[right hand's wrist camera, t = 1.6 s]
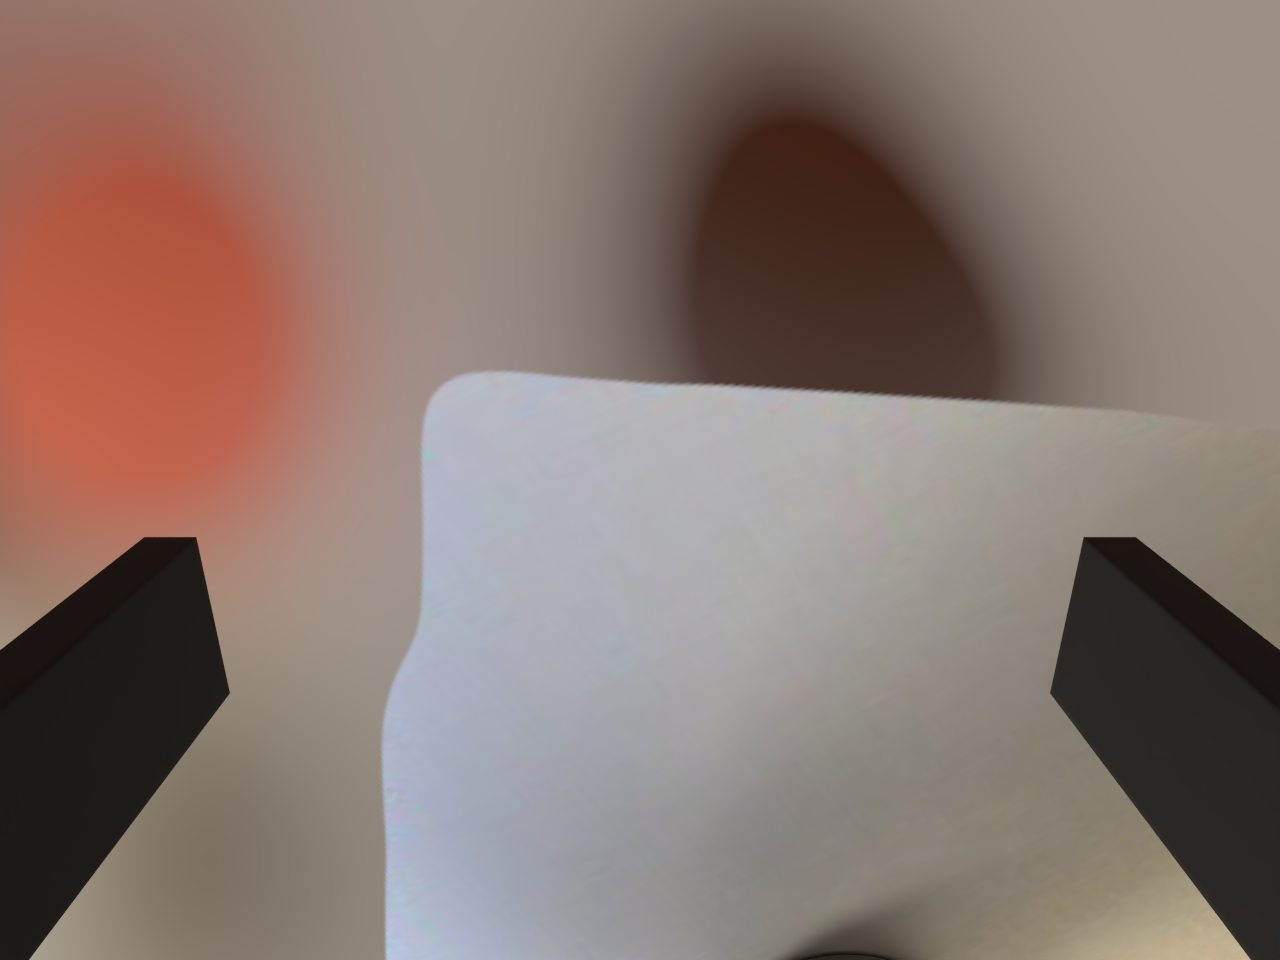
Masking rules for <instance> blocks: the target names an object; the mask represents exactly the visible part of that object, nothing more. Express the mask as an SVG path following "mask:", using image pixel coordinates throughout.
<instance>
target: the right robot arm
mask: <svg viewBox="0 0 1280 960" xmlns="http://www.w3.org/2000/svg"><path fill="white" fill-rule="evenodd" d="M229 694H230V692H229V687H228V683H227V678H226V673H225V669H224V664H223V659H222V655H221V650H220V645H219V641H218V636H217V631H216V627H215V622H214V618H213V613H212V608H211V604H210V599H209V595H208V590H207V585H206V581H205V576H204V571H203V567H202V562H201V557H200V553H199V548H198V543H197V539H196V537H144V538H143V539H142V540H140V541H139V542H138V543H136V544H135V545H134V546H133V547H131V548H130V549H129V550H128V551H126V552H125V553H124V554H122V555H121V556H120V557H119V558H117V559H116V560H115V561H114V562H112V563H111V564H110V565H108V566H107V567H106V568H105V569H103V570H102V571H101V572H99V573H98V574H97V575H96V576H94V577H93V578H92V579H91V580H89V581H88V582H87V583H85V584H84V585H83V586H82V587H80V588H79V589H78V590H77V591H75V592H74V593H73V594H71V595H70V596H69V597H68V598H66V599H65V600H64V601H63V602H61V603H60V604H59V605H57V606H56V607H55V608H54V609H52V610H51V611H50V612H48V613H47V614H46V615H45V616H43V617H42V618H41V619H40V620H38V621H37V622H36V623H34V624H33V625H32V626H31V627H29V628H28V629H27V630H25V631H24V632H23V633H22V634H20V635H19V636H18V637H17V638H15V639H14V640H13V641H11V642H10V643H9V644H8V645H6V646H5V647H4V648H2V649H1V650H0V960H29V959H30V958H31V956H32V955H33V954H34V952H35V951H36V950H37V948H38V947H39V946H40V944H41V943H42V942H43V940H44V939H45V938H46V936H47V935H48V934H49V932H50V931H51V930H52V928H53V927H54V926H55V924H56V923H57V922H58V920H59V919H60V918H61V916H62V915H63V914H64V913H65V911H66V910H67V909H68V907H69V906H70V905H71V903H72V902H73V901H74V899H75V898H76V897H77V895H78V894H79V893H80V891H81V890H82V889H83V887H84V886H85V885H86V883H87V882H88V881H89V879H90V878H91V877H92V875H93V874H94V873H95V871H96V870H97V869H98V867H99V866H100V865H101V863H102V862H103V861H104V859H105V858H106V857H107V856H108V854H109V853H110V852H111V850H112V849H113V848H114V846H115V845H116V844H117V842H118V841H119V840H120V838H121V837H122V836H123V834H124V833H125V832H126V830H127V829H128V828H129V826H130V825H131V824H132V822H133V821H134V820H135V818H136V817H137V816H138V814H139V813H140V812H141V810H142V809H143V808H144V806H145V805H146V804H147V802H148V801H149V800H150V798H151V797H152V796H153V794H154V793H155V792H156V790H157V789H158V788H159V786H160V785H161V784H162V783H163V781H164V780H165V779H166V777H167V776H168V774H169V773H170V772H171V771H172V769H173V768H174V767H175V765H176V764H177V763H178V761H179V760H180V759H181V757H182V756H183V755H184V753H185V752H186V751H187V749H188V748H189V747H190V745H191V744H192V743H193V741H194V740H195V739H196V737H197V736H198V735H199V733H200V732H201V731H202V729H203V728H204V727H205V725H206V724H207V723H208V721H209V720H210V719H211V717H212V716H213V715H214V714H215V712H216V711H217V710H218V708H219V707H220V706H221V704H222V703H223V701H224V700H225V699H226V698H227V696H228V695H229ZM1050 694H1051V695H1052V696H1053V698H1054V699H1055V700H1056V702H1057V703H1058V704H1059V706H1060V707H1061V708H1062V710H1063V711H1064V712H1065V714H1066V715H1067V716H1068V717H1069V719H1070V720H1071V721H1072V723H1073V724H1074V725H1075V727H1076V728H1077V729H1078V731H1079V732H1080V733H1081V735H1082V736H1083V737H1084V739H1085V740H1086V741H1087V743H1088V744H1089V745H1090V747H1091V748H1092V749H1093V751H1094V752H1095V753H1096V755H1097V756H1098V757H1099V759H1100V760H1101V761H1102V763H1103V764H1104V765H1105V767H1106V768H1107V769H1108V771H1109V772H1110V773H1111V775H1112V776H1113V777H1114V779H1115V780H1116V781H1117V783H1118V784H1119V785H1120V787H1121V788H1122V789H1123V790H1124V792H1125V793H1126V794H1127V796H1128V797H1129V798H1130V800H1131V801H1132V802H1133V804H1134V805H1135V806H1136V808H1137V809H1138V810H1139V812H1140V813H1141V814H1142V816H1143V817H1144V818H1145V820H1146V821H1147V822H1148V824H1149V825H1150V826H1151V828H1152V829H1153V830H1154V832H1155V833H1156V834H1157V836H1158V837H1159V838H1160V840H1161V841H1162V842H1163V844H1164V845H1165V846H1166V848H1167V849H1168V850H1169V852H1170V853H1171V854H1172V856H1173V857H1174V858H1175V859H1176V861H1177V862H1178V863H1179V865H1180V866H1181V867H1182V869H1183V870H1184V871H1185V873H1186V874H1187V875H1188V877H1189V878H1190V879H1191V881H1192V882H1193V883H1194V885H1195V886H1196V887H1197V889H1198V890H1199V891H1200V893H1201V894H1202V895H1203V897H1204V898H1205V899H1206V901H1207V902H1208V903H1209V905H1210V906H1211V907H1212V909H1213V910H1214V911H1215V913H1216V914H1217V915H1218V917H1219V918H1220V919H1221V921H1222V922H1223V923H1224V925H1225V926H1226V927H1227V928H1228V930H1229V931H1230V932H1231V934H1232V935H1233V936H1234V938H1235V939H1236V940H1237V942H1238V943H1239V944H1240V946H1241V947H1242V948H1243V950H1244V951H1245V952H1246V954H1247V955H1248V956H1249V958H1250V959H1251V960H1280V650H1279V649H1278V648H1276V647H1275V646H1274V645H1272V644H1271V643H1270V642H1269V641H1267V640H1266V639H1265V638H1263V637H1262V636H1261V635H1260V634H1258V633H1257V632H1256V631H1255V630H1253V629H1252V628H1251V627H1249V626H1248V625H1247V624H1246V623H1244V622H1243V621H1242V620H1241V619H1239V618H1238V617H1237V616H1235V615H1234V614H1233V613H1232V612H1230V611H1229V610H1228V609H1226V608H1225V607H1224V606H1223V605H1221V604H1220V603H1219V602H1218V601H1216V600H1215V599H1214V598H1212V597H1211V596H1210V595H1209V594H1207V593H1206V592H1205V591H1204V590H1202V589H1201V588H1200V587H1198V586H1197V585H1196V584H1195V583H1193V582H1192V581H1191V580H1189V579H1188V578H1187V577H1186V576H1184V575H1183V574H1182V573H1181V572H1179V571H1178V570H1177V569H1175V568H1174V567H1173V566H1172V565H1170V564H1169V563H1168V562H1167V561H1165V560H1164V559H1163V558H1161V557H1160V556H1159V555H1158V554H1156V553H1155V552H1154V551H1152V550H1151V549H1150V548H1149V547H1147V546H1146V545H1145V544H1144V543H1142V542H1141V541H1140V540H1138V539H1137V538H1136V537H1084V539H1083V543H1082V548H1081V553H1080V557H1079V562H1078V567H1077V571H1076V576H1075V581H1074V585H1073V590H1072V594H1071V599H1070V604H1069V608H1068V613H1067V618H1066V622H1065V627H1064V631H1063V636H1062V641H1061V645H1060V650H1059V655H1058V659H1057V664H1056V669H1055V673H1054V678H1053V682H1052V687H1051V692H1050ZM808 960H886V959H882V958H877V957H871V956H863V955H832V956H823V957H817V958H812V959H808Z"/></svg>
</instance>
